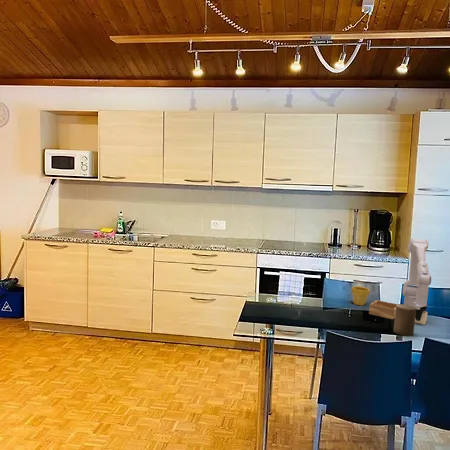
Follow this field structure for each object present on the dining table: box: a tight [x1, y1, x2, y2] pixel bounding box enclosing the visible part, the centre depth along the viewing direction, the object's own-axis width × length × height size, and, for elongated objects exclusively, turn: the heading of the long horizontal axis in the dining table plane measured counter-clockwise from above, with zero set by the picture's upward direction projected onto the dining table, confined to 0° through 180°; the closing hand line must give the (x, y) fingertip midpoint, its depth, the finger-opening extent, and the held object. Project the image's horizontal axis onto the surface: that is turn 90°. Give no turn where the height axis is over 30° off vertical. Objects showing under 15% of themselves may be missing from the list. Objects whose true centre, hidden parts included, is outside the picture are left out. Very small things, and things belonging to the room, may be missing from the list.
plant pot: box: [351, 285, 370, 306], centre depth 288 cm, size 10×10×10 cm
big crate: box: [368, 299, 398, 320], centre depth 270 cm, size 14×14×6 cm
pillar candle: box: [393, 303, 416, 337], centre depth 238 cm, size 10×10×15 cm
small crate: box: [415, 310, 428, 325], centre depth 259 cm, size 5×7×6 cm
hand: (418, 319), depth 259 cm, fingers closed on small crate, 5 cm apart
